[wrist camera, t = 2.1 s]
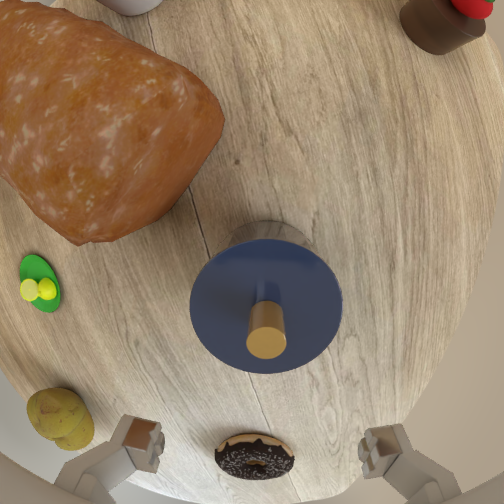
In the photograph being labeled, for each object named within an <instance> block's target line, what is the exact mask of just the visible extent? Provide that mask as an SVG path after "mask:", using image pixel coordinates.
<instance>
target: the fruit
mask: <svg viewBox="0 0 504 504" xmlns="http://www.w3.org/2000/svg"><path fill="white" fill-rule="evenodd" d="M27 414H28V417H29V419H30V421H31V423H32V425H33V427H34V428H35V429H36V431H37V432H38V433H39V434H40V435H41V436H43V437H45V438H46V439H48V440H51V441H55V443H56V445H57V446H58V447H60V448H61V449H64V450H69V451H73V450H79V449H82V448H84V447H86V446H87V445H88V444H89V443H90V442H91V441H92V439H93V436H94V423H93V420H92V417H91V415H90V413H89V411H88V409H87V407H86V405H85V403H84V402H83V400H82V399H81V398H80V397H79V396H78V395H77V394H75V393H74V392H72V391H70V390H67V389H64V388H48V389H44V390H41V391H38V392H36V393H35V394H33V395H32V396H31V397H30V399H29V400H28V403H27Z"/></svg>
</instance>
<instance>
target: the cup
mask: <svg viewBox="0 0 504 504" xmlns="http://www.w3.org/2000/svg"><path fill="white" fill-rule="evenodd" d="M96 1H98V2H100V3H102V4H103V5H105V6H107V7H108V8H110V9H112V10H113V11H115V12H117V13H119V14H122V15H126V16H134V15H140V14H143V13H146V12H148V11H150V10H152V9H153V8H155V7H156V6H158V5H159V4H160V3H161V2H162V1H163V0H96Z"/></svg>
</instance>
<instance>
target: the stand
mask: <svg viewBox="0 0 504 504" xmlns="http://www.w3.org/2000/svg"><path fill="white" fill-rule="evenodd" d="M400 21H401V24H402V27H403V29H404V31H405V32H406V34H407V35H408V36H409V38H410V39H411V40H412V41H413V42H414V43H415V44H416V45H418V46H419V47H420V48H422V49H423V50H425V51H427V52H429V53H431V54H434V55H444V54H447V53H448V52H450V51H452V50H454V49H456V48H458V47H460V46H462V45H464V44H466V43H468V42H470V41H472V40H475V39H477V38H479V37H481V36H482V35H483V34H484V33H485V29H486V25H485V21H484V19H473V18H470V17H468V16H466V15H464V14H462V13H461V12H460V11H459V10H457V9H456V7H455V6H454V5H453V4H452V2H451V0H409V1H408V2H407V3H406V5H405V6H404V7H403V8H402V9H401V11H400Z"/></svg>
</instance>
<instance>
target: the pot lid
mask: <svg viewBox="0 0 504 504" xmlns="http://www.w3.org/2000/svg"><path fill="white" fill-rule="evenodd" d="M342 313H343V298H342V292H341V289H340V286H339V283H338V280H337V279H336V277H335V275H334V273H333V271H332V270H331V268H330V267H329V266H328V264H327V263H326V262H325V261H324V260H323V259H322V258H321V257H320V256H319V255H317V254H316V253H315V252H314V251H312V250H311V249H309V248H307V247H305V246H304V245H301V244H299V243H296V242H294V241H291V240H287V239H283V238H275V237H258V238H251V239H247V240H243V241H239V242H237V243H235V244H232V245H230V246H228V247H226V248H224V249H223V250H221V251H220V252H218V253H217V254H216V255H215V256H213V257H212V258H211V259H210V260H209V261H208V262H207V263H206V264H205V266H204V267H203V269H202V270H201V271H200V273H199V275H198V276H197V278H196V280H195V282H194V285H193V288H192V291H191V296H190V317H191V321H192V325H193V328H194V330H195V332H196V334H197V336H198V338H199V339H200V341H201V343H202V344H203V345H204V346H205V348H206V349H207V350H208V351H209V352H210V353H211V354H212V355H214V356H215V357H216V358H218V359H219V360H220V361H222V362H224V363H225V364H227V365H229V366H232V367H234V368H236V369H239V370H242V371H246V372H251V373H259V374H273V373H281V372H285V371H290V370H293V369H296V368H298V367H300V366H303V365H305V364H307V363H308V362H310V361H312V360H313V359H314V358H316V357H317V356H318V355H320V354H321V353H322V352H323V351H324V350H325V349H326V348H327V346H328V345H329V344H330V343H331V341H332V340H333V338H334V336H335V335H336V333H337V331H338V328H339V326H340V322H341V319H342Z"/></svg>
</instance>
